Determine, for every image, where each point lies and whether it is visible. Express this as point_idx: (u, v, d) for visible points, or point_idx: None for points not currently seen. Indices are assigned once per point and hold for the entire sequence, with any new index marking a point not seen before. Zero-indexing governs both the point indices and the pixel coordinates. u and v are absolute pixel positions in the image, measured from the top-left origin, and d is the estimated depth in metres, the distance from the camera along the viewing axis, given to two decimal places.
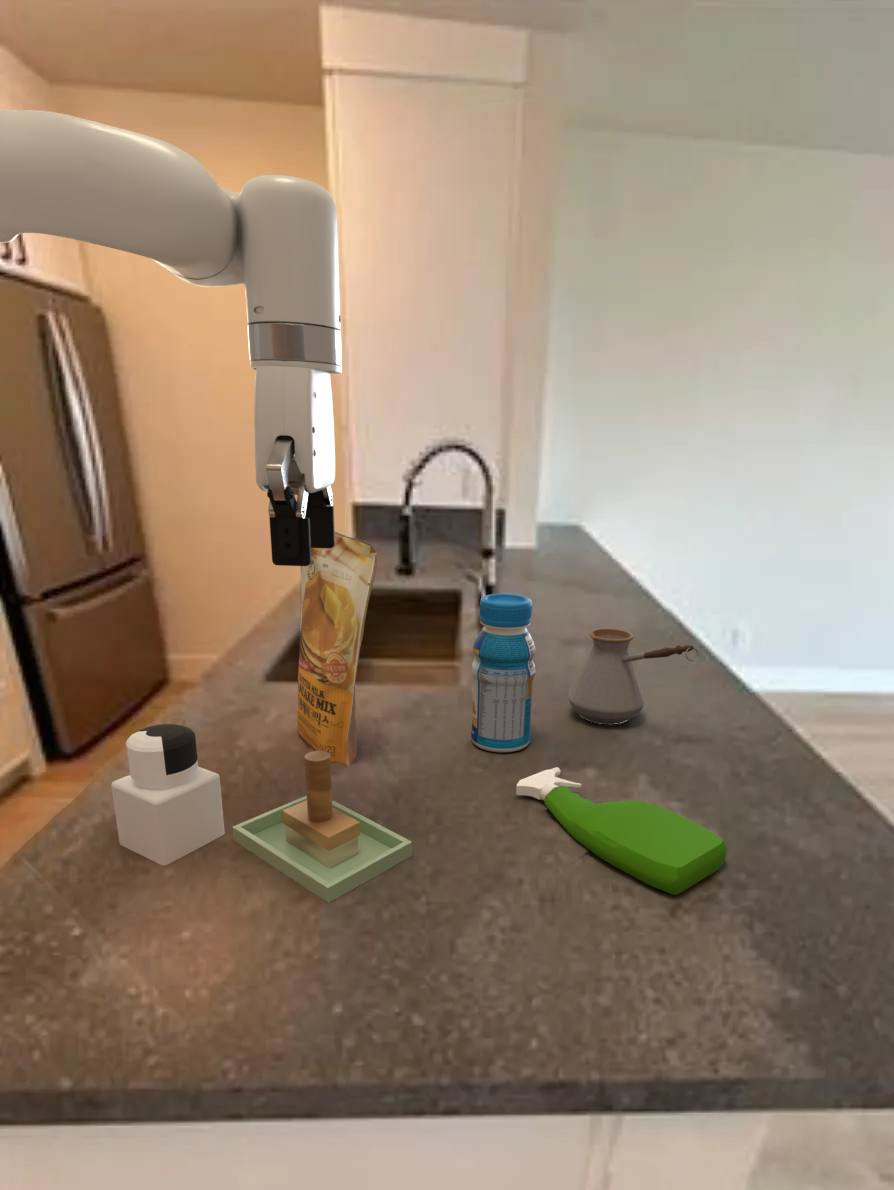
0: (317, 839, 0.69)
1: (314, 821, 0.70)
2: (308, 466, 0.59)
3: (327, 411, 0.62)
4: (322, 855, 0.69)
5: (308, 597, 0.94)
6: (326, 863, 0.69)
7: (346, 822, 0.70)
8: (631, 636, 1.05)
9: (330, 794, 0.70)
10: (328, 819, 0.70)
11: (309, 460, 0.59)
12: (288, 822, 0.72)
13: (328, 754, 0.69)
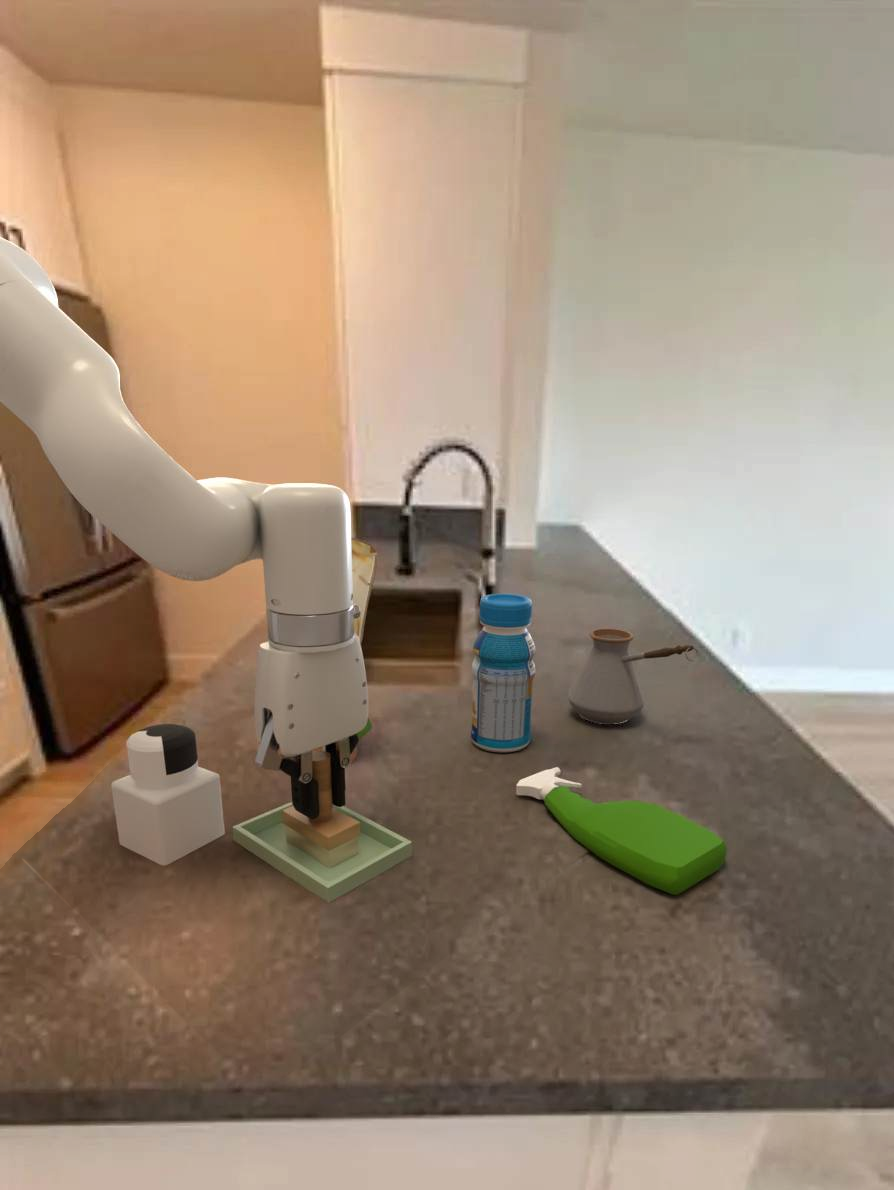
0: (317, 839, 0.69)
1: (314, 821, 0.70)
2: (282, 738, 0.63)
3: (328, 680, 0.65)
4: (322, 855, 0.69)
5: None
6: (326, 863, 0.69)
7: (346, 822, 0.70)
8: (631, 636, 1.05)
9: (330, 794, 0.70)
10: (328, 819, 0.70)
11: (283, 733, 0.63)
12: (288, 822, 0.72)
13: (328, 754, 0.69)
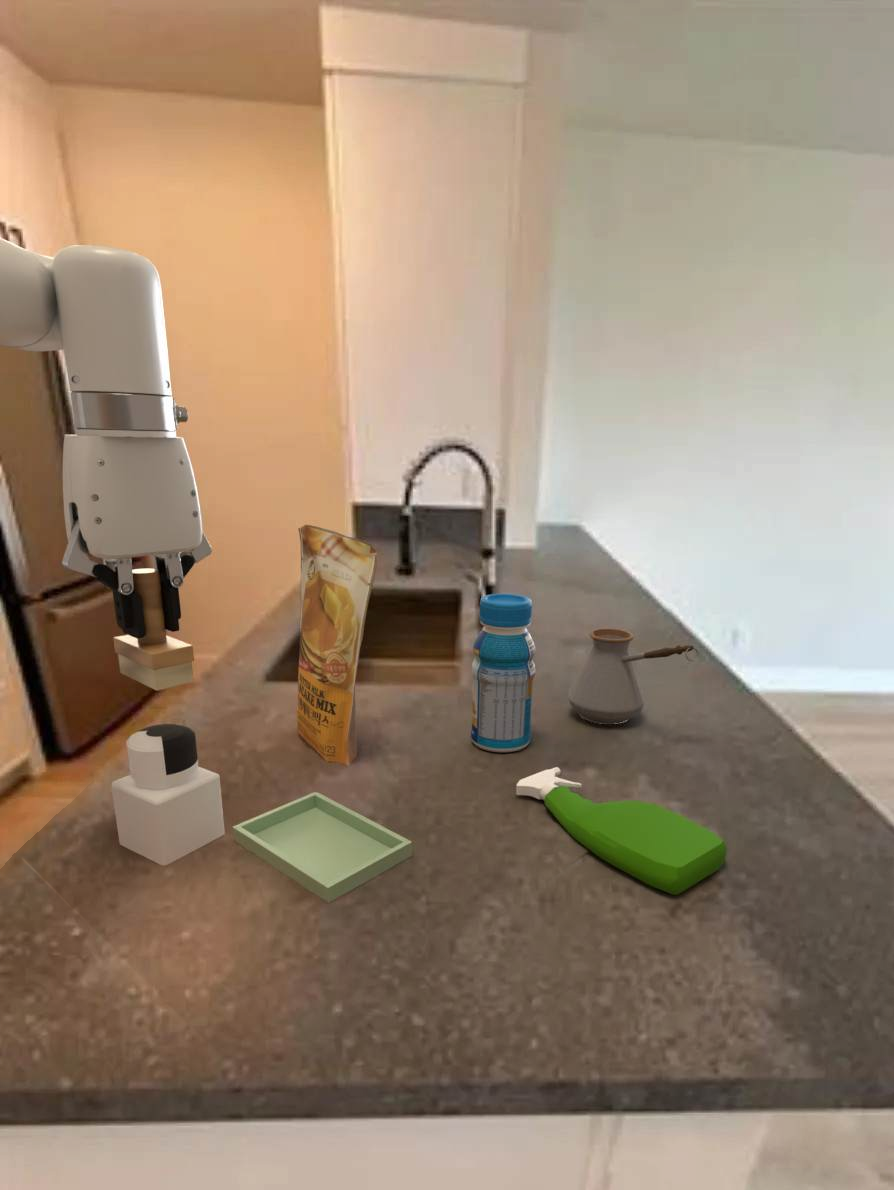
0: (143, 659, 0.64)
1: (143, 644, 0.65)
2: (88, 533, 0.58)
3: (143, 477, 0.60)
4: (149, 678, 0.64)
5: (308, 597, 0.94)
6: (153, 686, 0.64)
7: (178, 645, 0.65)
8: (631, 636, 1.05)
9: (160, 615, 0.65)
10: (159, 642, 0.66)
11: (89, 528, 0.58)
12: (119, 649, 0.67)
13: (156, 570, 0.65)
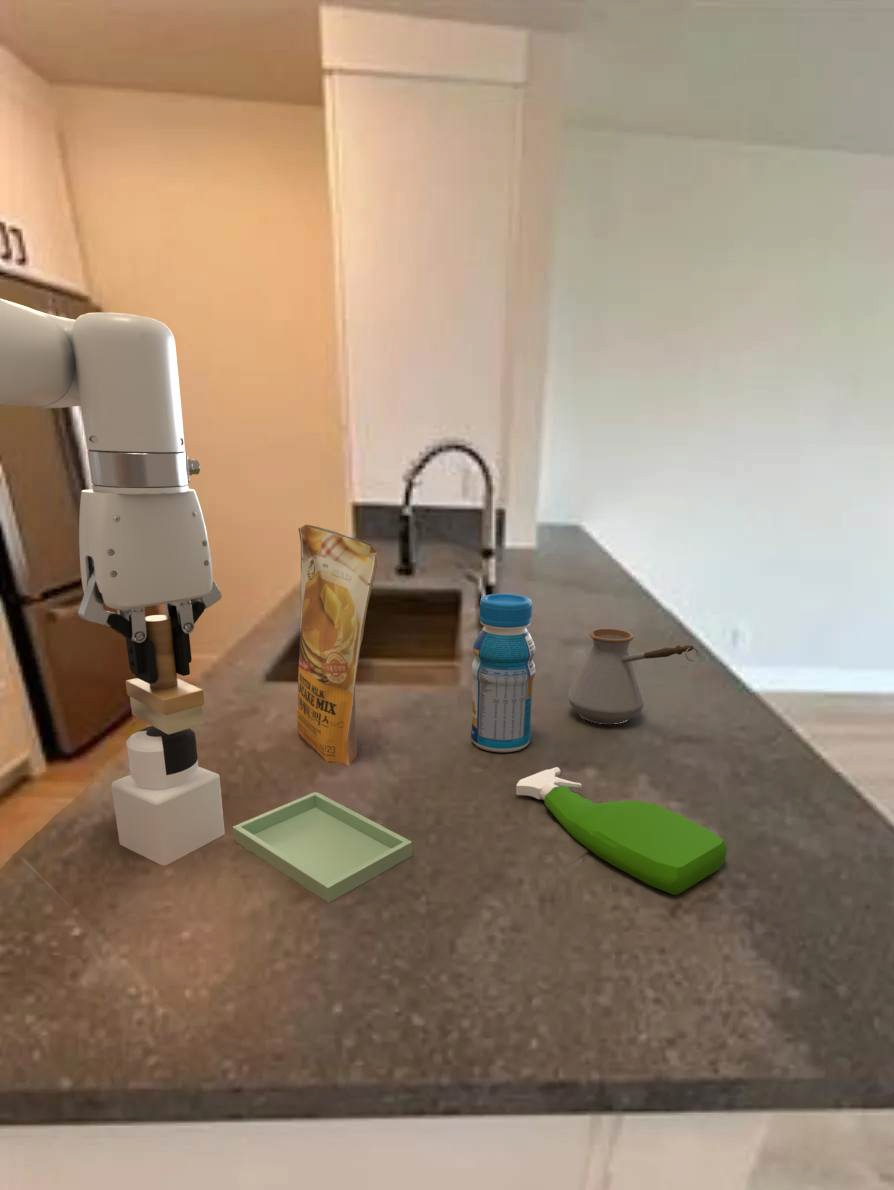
0: (155, 704, 0.66)
1: (155, 688, 0.67)
2: (104, 586, 0.60)
3: (157, 530, 0.62)
4: (161, 722, 0.66)
5: (308, 597, 0.94)
6: (165, 730, 0.66)
7: (188, 689, 0.67)
8: (631, 636, 1.05)
9: (172, 660, 0.67)
10: (170, 687, 0.68)
11: (105, 581, 0.60)
12: (131, 692, 0.69)
13: (168, 617, 0.67)
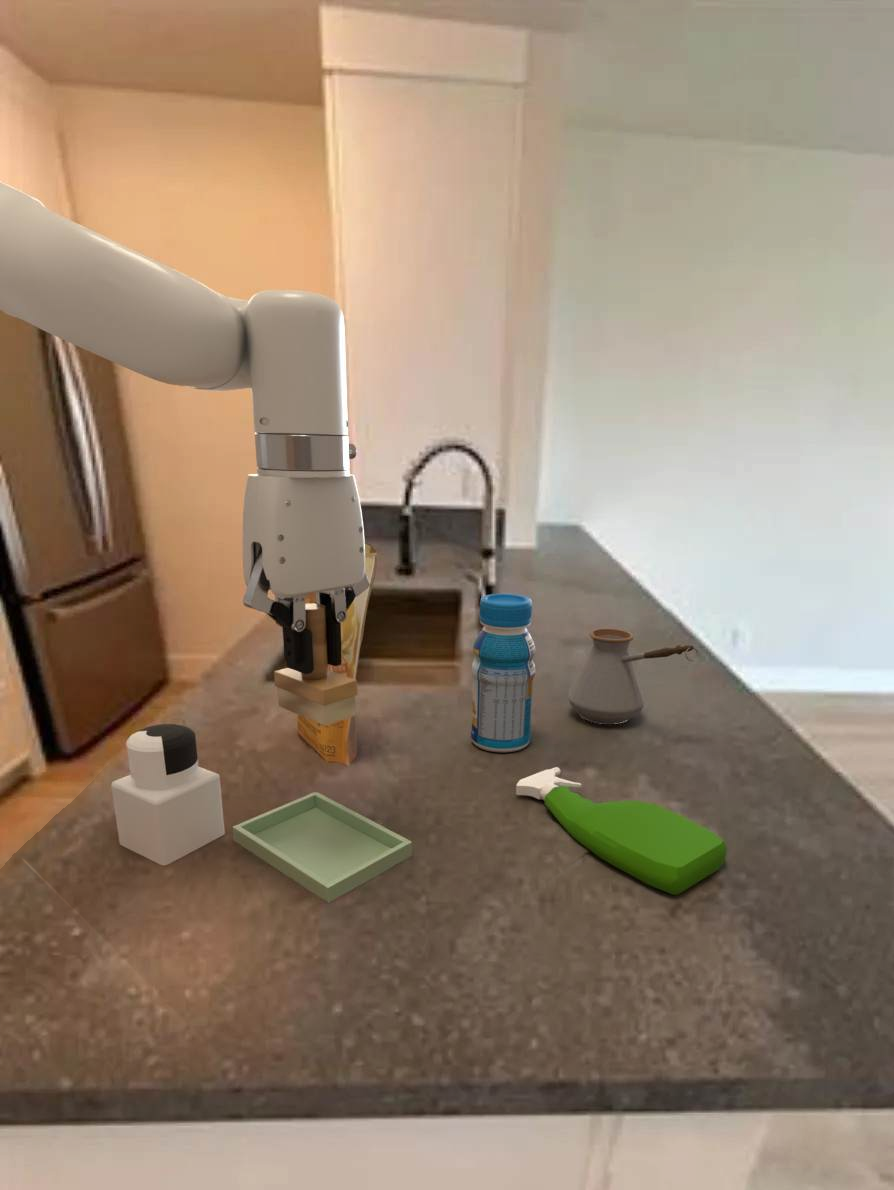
0: (312, 695, 0.64)
1: (308, 678, 0.66)
2: (272, 573, 0.59)
3: (321, 515, 0.60)
4: (317, 713, 0.65)
5: (308, 597, 0.94)
6: (321, 721, 0.64)
7: (342, 680, 0.66)
8: (631, 636, 1.05)
9: (325, 650, 0.65)
10: (323, 677, 0.66)
11: (273, 568, 0.59)
12: (280, 683, 0.67)
13: (323, 605, 0.65)
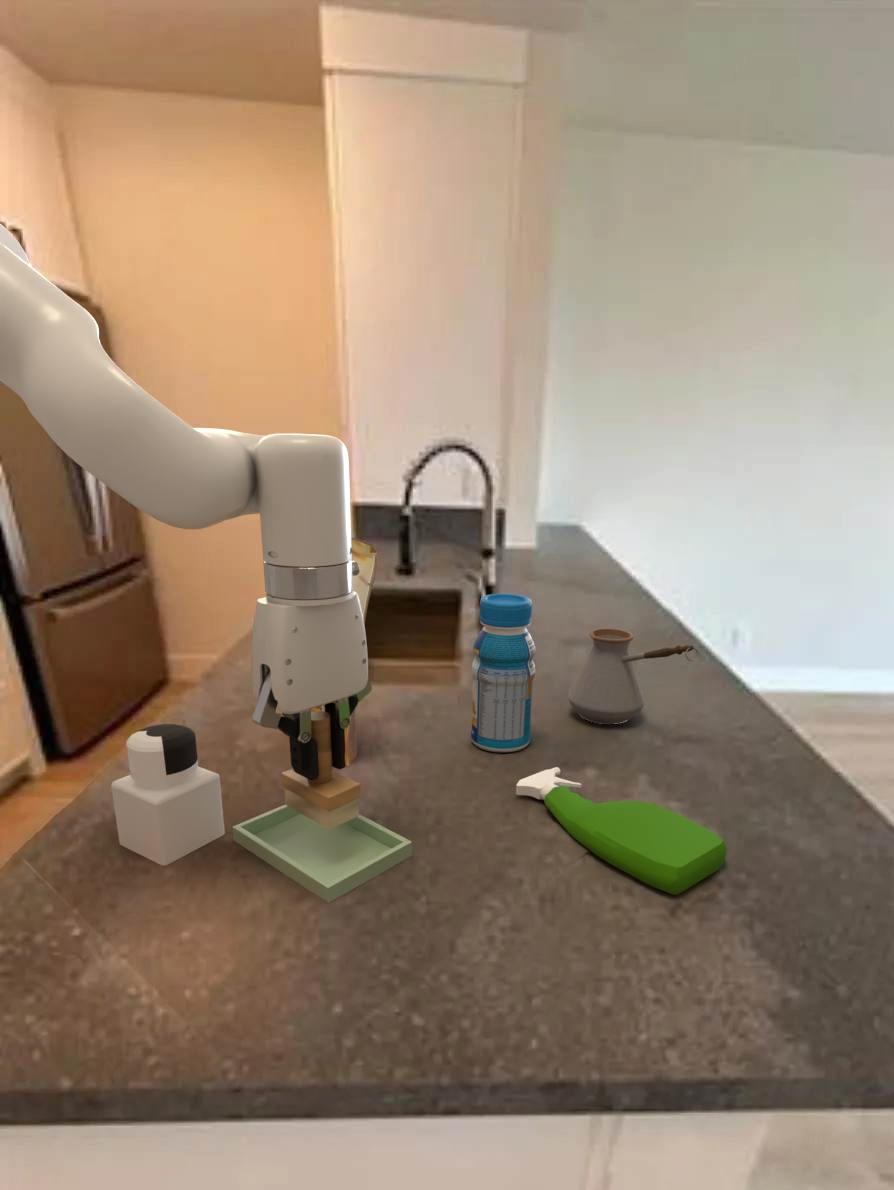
0: (317, 800, 0.67)
1: (313, 782, 0.69)
2: (280, 694, 0.62)
3: (327, 636, 0.64)
4: (322, 817, 0.68)
5: None
6: (326, 825, 0.68)
7: (346, 784, 0.69)
8: (631, 636, 1.05)
9: (330, 755, 0.69)
10: (328, 781, 0.69)
11: (281, 689, 0.62)
12: (287, 785, 0.70)
13: (327, 714, 0.68)
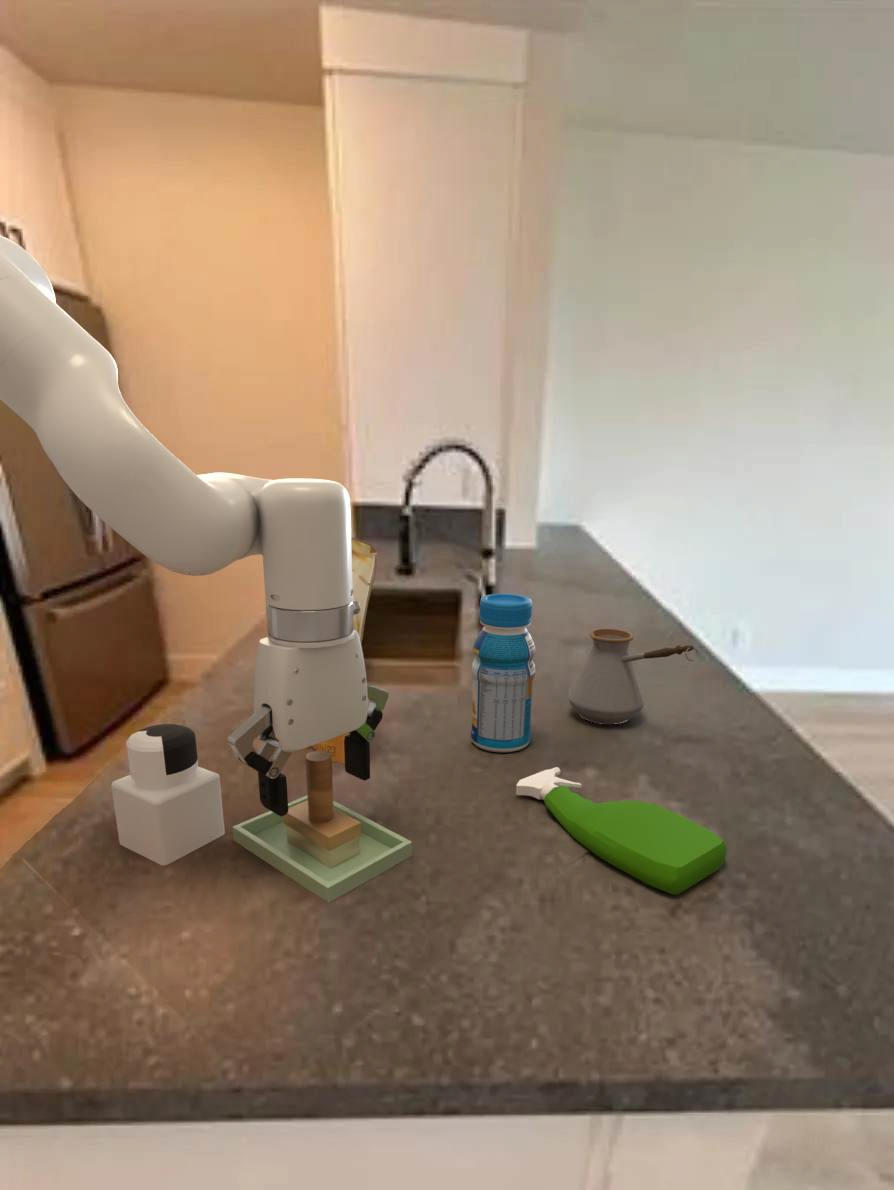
0: (318, 839, 0.69)
1: (315, 821, 0.70)
2: (281, 734, 0.63)
3: (327, 676, 0.65)
4: (323, 855, 0.69)
5: None
6: (327, 863, 0.69)
7: (347, 822, 0.70)
8: (631, 636, 1.05)
9: (331, 794, 0.70)
10: (329, 819, 0.70)
11: (282, 729, 0.63)
12: (288, 822, 0.72)
13: (329, 754, 0.69)
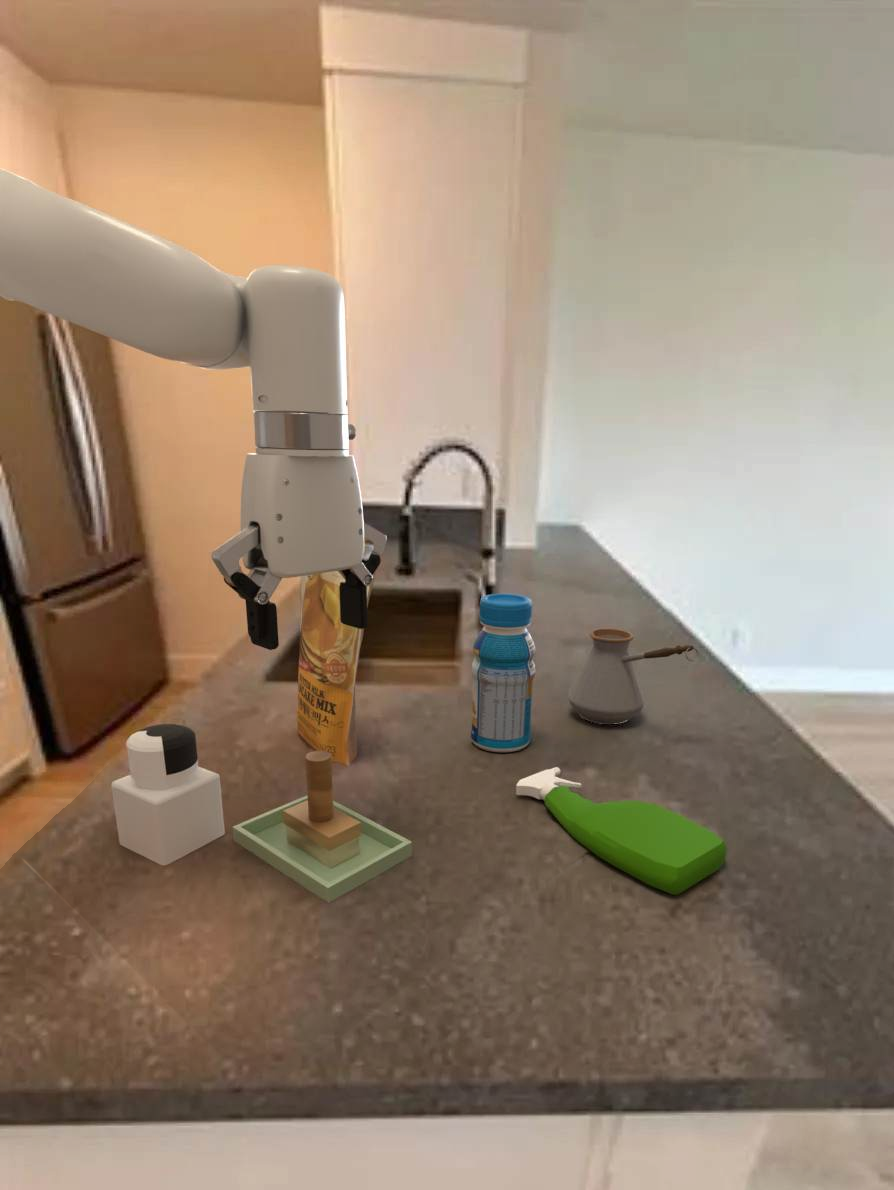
0: (318, 839, 0.69)
1: (315, 821, 0.70)
2: (270, 553, 0.58)
3: (320, 495, 0.60)
4: (323, 855, 0.69)
5: (308, 597, 0.94)
6: (327, 863, 0.69)
7: (347, 822, 0.70)
8: (631, 636, 1.05)
9: (331, 794, 0.70)
10: (329, 819, 0.70)
11: (271, 547, 0.58)
12: (288, 822, 0.72)
13: (329, 754, 0.69)
